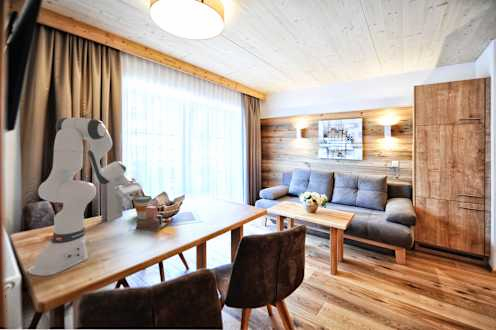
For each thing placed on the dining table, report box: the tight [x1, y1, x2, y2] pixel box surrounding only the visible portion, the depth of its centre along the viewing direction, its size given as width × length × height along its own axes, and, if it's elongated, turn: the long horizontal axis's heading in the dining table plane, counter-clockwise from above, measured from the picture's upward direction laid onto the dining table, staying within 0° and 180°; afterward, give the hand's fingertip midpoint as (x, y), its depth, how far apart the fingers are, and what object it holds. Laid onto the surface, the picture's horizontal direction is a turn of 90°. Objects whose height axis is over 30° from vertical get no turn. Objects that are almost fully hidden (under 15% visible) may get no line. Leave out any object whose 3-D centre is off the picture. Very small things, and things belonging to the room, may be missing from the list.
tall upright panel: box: [100, 180, 124, 223], centre depth 165 cm, size 14×6×30 cm, turn 168°
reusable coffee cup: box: [134, 195, 153, 218], centre depth 174 cm, size 13×13×15 cm
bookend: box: [157, 214, 163, 224], centre depth 154 cm, size 1×10×6 cm, turn 80°
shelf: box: [135, 217, 168, 233], centre depth 150 cm, size 12×16×8 cm
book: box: [145, 205, 158, 219], centre depth 150 cm, size 4×6×13 cm, turn 81°
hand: (136, 197), depth 151 cm, fingers open, 8 cm apart
